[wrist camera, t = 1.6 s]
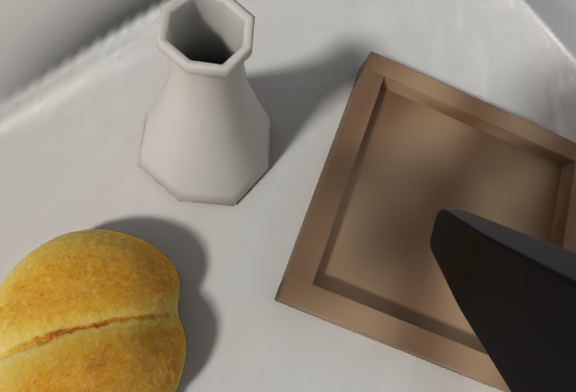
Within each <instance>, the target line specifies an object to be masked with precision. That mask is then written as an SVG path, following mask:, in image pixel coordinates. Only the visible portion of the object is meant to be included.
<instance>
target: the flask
mask: <svg viewBox="0 0 576 392" xmlns="http://www.w3.org/2000/svg"><path fill="white" fill-rule="evenodd" d="M254 21H255V16H253V15H252V14H251V13H250V12H249V11H248V10H246V9H245V8H244V7H243V6H242V5H240V4H239V3H238V2H237V1H236V0H170V1H169V2H168V3H166V4H165V5H164V6H163V7H161V12H160V18H159V24H158V30H157V36H156V46H157V47H158V49H159V50H160V51H161V52H162V53H163V54H165V55H166V56H167V57H168V59H169V67H170V74H169V76H168V78H167V80H166V82H165V84H164V86H163V88H162V89H161V91H160V93H159V95H158V97H157V98H156V100H155V101H154V103H153V104H152V106H151V107H150V109H149V111H148V113H147V115H146V118H145V125H144V131H143V137H142V144H141V150H140V156H139V162H138V166H140V167H141V168H142V169H143V170H144V171H145V172H146V173H148V174H149V175H150V176H151V177H152V178H153V179H154V180H156V181H157V182H158V183H159V184H160V185H161V186H162V187H164V188H165V189H166V190H167V191H168V192H169V193H170V194H172V195H173V196H174V197H175V198H176V199H177V200H178V201H186V202H197V203H207V204H218V205H229V206H234V205H235V204H236V203H237V202H238V201H239V200H240V199H241V198H242V197H243V196H244V195H245V193H246V192H247V191H248V190H249V189H250V188H251V187H252V186H253V185H254V184H255V183H256V182H257V181H258V180H259V179H260V177H261V176H262V175H263V174H264V173H265V172H266V171H267V170H268V168H269V153H270V138H271V123H272V122H271V120H270V118H269V116H268V115H267V113H266V111H265V110H264V108H263V107H262V105H261V104H260V102H259V101H258V99H257V97H256V95H255V93H254V91H253V89H252V87H251V85H250V83H249V81H248V80H247V78H246V73H245V67H244V61H245V60H247V59H248V58H249V57H250V55H251V54H252V44H253V33H254Z"/></svg>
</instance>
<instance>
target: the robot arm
mask: <svg viewBox="0 0 576 392" xmlns="http://www.w3.org/2000/svg"><path fill="white" fill-rule="evenodd" d="M430 248H431V251H432V253H433V255H434V257H435V259H436V261H437V264H438V266H439V268H440V270H441V272H442V274H443V276H444V278H445V280H446V282H447V284H448V286H449V288H450V290H451V292H452V295H453V297H454V299H455V301H456V302H457V304H458V306H459V308H460V310H461V312H462V313H463V315H464V317H465V318H466V320H467V322H468V323H469V325H470V326H471V328H472V330H473V331H474V333H475V335H476V336H477V338H478V339H479V341H480V343H481V344H482V346H483V347H484V349H485V351H486V352H487V354H488V356H489V357H490V359H491V360H492V362H493V364H494V365H495V367H496V368H497V370H498V372H499V373H500V375H501V377H502V378H503V380H504V381H505V383H506V385H507V386H508V388H509V390H510V391H511V392H576V253H574V252H572V251H569V250H566V249H564V248H561V247H559V246H556V245H553V244H551V243H548V242H546V241H543V240H540V239H538V238H535V237H533V236H530V235H527V234H525V233H522V232H520V231H517V230H514V229H512V228H509V227H507V226H504V225H501V224H499V223H496V222H494V221H491V220H488V219H486V218H483V217H481V216H478V215H475V214H473V213H470V212H468V211H465V210H462V209H460V208H447V209H441V210H439V211H438V213H437V214H436V218H435V221H434V225H433V229H432V233H431V237H430Z"/></svg>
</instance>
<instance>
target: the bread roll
mask: <svg viewBox="0 0 576 392" xmlns="http://www.w3.org/2000/svg"><path fill="white" fill-rule="evenodd" d="M179 294H180V280H179V276H178V272H177V271H176V269H175V267H174V265H173V264H172V262H171V261H170V260H169V259H168V258H167V257H166V256H165V255H164V254H163V253H161V252H160V251H159V250H157V249H156V248H155V247H153V246H152V245H151V244H149V243H147V242H146V241H144V240H142V239H140V238H138V237H135V236H132V235H129V234H125V233H121V232H116V231H110V230H104V229H96V230H83V231H77V232H71V233H67V234H63V235H61V236H58V237H56V238H54V239H52V240H50V241H48V242H47V243H45V244H43V245H41V246H40V247H38V248H37V249H35V250H34V251H32V252H31V253H30V254H28V255H27V256H26V257H25V258H24V259H23V260H22V261H21V262H20V263H19V264H18V265H17V266H16V267H15V268H14V269H13V270H12V271H11V273H10V274H9V275H8V276H7V277H6V278H5V280H4V282H3V284H2V285H1V287H0V392H175V390H176V389H177V387H178V385H179V383H180V380H181V376H182V373H183V368H184V364H185V358H186V351H187V350H186V339H185V334H184V330H183V326H182V324H181V322H180V320H179V314H178V301H179Z"/></svg>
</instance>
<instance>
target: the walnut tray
mask: <svg viewBox="0 0 576 392" xmlns="http://www.w3.org/2000/svg"><path fill="white" fill-rule="evenodd" d="M447 208H460V209H462V210H465V211H468V212H470V213H473V214H475V215H478V216H481V217H483V218H486V219H488V220H491V221H494V222H496V223H499V224H501V225H504V226H507V227H509V228H512V229H514V230H517V231H520V232H522V233H525V234H527V235H530V236H533V237H535V238H538V239H540V240H543V241H546V242H548V243H551V244H553V245H556V246H559V247H561V248H564V249H566V250H569V251H572V252H574V253H576V143H574V142H572V141H570V140H568V139H565V138H563V137H561V136H559V135H556V134H554V133H552V132H550V131H548V130H545V129H543V128H541V127H539V126H536V125H534V124H532V123H530V122H528V121H525V120H523V119H521V118H519V117H516V116H514V115H512V114H510V113H507V112H505V111H503V110H501V109H499V108H496V107H494V106H492V105H490V104H487V103H485V102H483V101H481V100H479V99H476V98H474V97H472V96H470V95H467V94H465V93H463V92H461V91H458V90H456V89H454V88H452V87H450V86H447V85H445V84H443V83H441V82H438V81H436V80H434V79H432V78H430V77H427V76H425V75H423V74H421V73H418V72H416V71H414V70H412V69H409V68H407V67H405V66H403V65H401V64H398V63H396V62H394V61H392V60H389V59H387V58H385V57H383V56H381V55H378V54H376V53H374V52H372V51H371V53H370V54H369V56H368V57H367V59H366V61H365V62H364V64H363V65H362V67H361V69H360V70H359V73H358V76H357V78H356V81H355V84H354V86H353V89H352V92H351V95H350V97H349V100H348V103H347V105H346V108H345V111H344V113H343V116H342V119H341V122H340V124H339V127H338V130H337V132H336V135H335V138H334V140H333V143H332V146H331V149H330V151H329V154H328V157H327V159H326V162H325V165H324V167H323V170H322V173H321V176H320V178H319V181H318V184H317V186H316V189H315V192H314V194H313V197H312V200H311V203H310V205H309V208H308V211H307V213H306V216H305V219H304V221H303V224H302V227H301V230H300V232H299V235H298V238H297V240H296V243H295V246H294V248H293V251H292V254H291V257H290V259H289V262H288V265H287V267H286V270H285V273H284V275H283V278H282V281H281V284H280V286H279V289H278V292H277V294H276V297H275V301H277V302H280V303H282V304H285V305H288V306H290V307H293V308H295V309H298V310H300V311H303V312H305V313H308V314H310V315H313V316H315V317H318V318H320V319H323V320H325V321H328V322H330V323H333V324H335V325H338V326H340V327H343V328H345V329H348V330H350V331H353V332H355V333H358V334H360V335H363V336H365V337H368V338H370V339H373V340H375V341H378V342H380V343H383V344H386V345H388V346H391V347H393V348H396V349H398V350H401V351H403V352H406V353H408V354H411V355H413V356H416V357H418V358H421V359H423V360H426V361H428V362H431V363H433V364H436V365H438V366H441V367H443V368H446V369H448V370H451V371H453V372H456V373H458V374H461V375H463V376H466V377H468V378H471V379H473V380H476V381H478V382H481V383H483V384H486V385H489V386H491V387H494V388H496V389H499V390H501V391H504V392H511V391H510V390H509V388H508V386H507V385H506V383H505V381H504V380H503V378H502V377H501V375H500V373H499V372H498V370H497V368H496V367H495V365H494V364H493V362H492V360H491V359H490V357H489V356H488V354H487V352H486V351H485V349H484V347H483V346H482V344H481V343H480V341H479V339H478V338H477V336H476V335H475V333H474V331H473V330H472V328H471V326H470V325H469V323H468V322H467V320H466V318H465V317H464V315H463V313H462V312H461V310H460V308H459V306H458V304H457V302H456V301H455V299H454V297H453V295H452V292H451V290H450V288H449V286H448V284H447V282H446V280H445V278H444V276H443V274H442V272H441V270H440V268H439V266H438V264H437V261H436V259H435V257H434V255H433V253H432V251H431V248H430V237H431V233H432V229H433V225H434V221H435V218H436V214H437V213H438V211H439V210H441V209H447Z"/></svg>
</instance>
